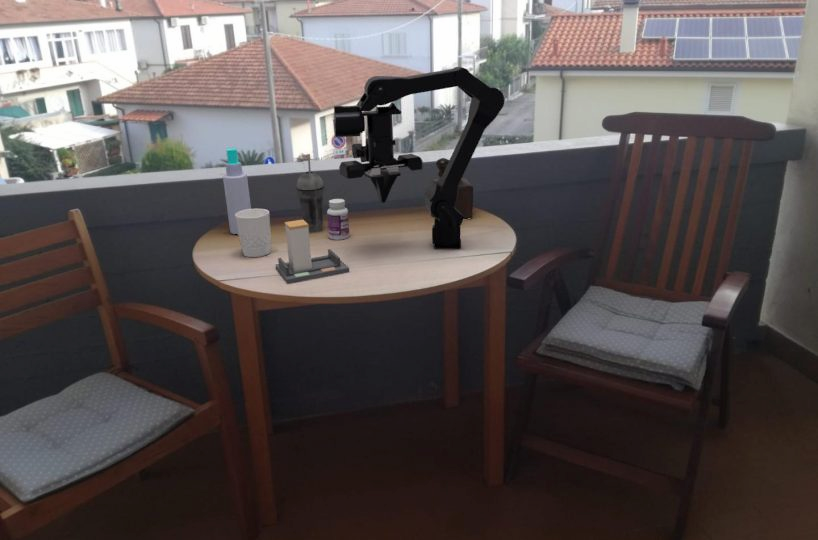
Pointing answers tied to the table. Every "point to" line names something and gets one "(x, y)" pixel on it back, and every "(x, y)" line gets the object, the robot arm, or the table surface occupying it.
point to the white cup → (254, 232)
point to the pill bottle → (338, 220)
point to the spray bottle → (235, 189)
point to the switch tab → (298, 245)
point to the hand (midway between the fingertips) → (382, 202)
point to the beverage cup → (311, 198)
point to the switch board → (313, 268)
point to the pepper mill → (459, 191)
